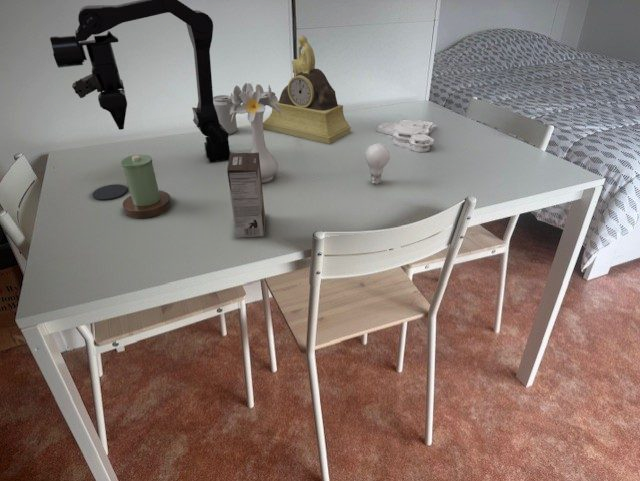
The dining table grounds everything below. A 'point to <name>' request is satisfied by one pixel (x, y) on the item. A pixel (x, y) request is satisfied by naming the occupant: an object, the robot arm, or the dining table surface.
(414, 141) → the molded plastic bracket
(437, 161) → the dining table surface
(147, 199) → the canister
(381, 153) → the lightbulb
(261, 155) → the flower vase
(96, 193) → the coaster
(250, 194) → the coffee box
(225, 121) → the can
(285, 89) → the decorative clock
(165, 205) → the platform
